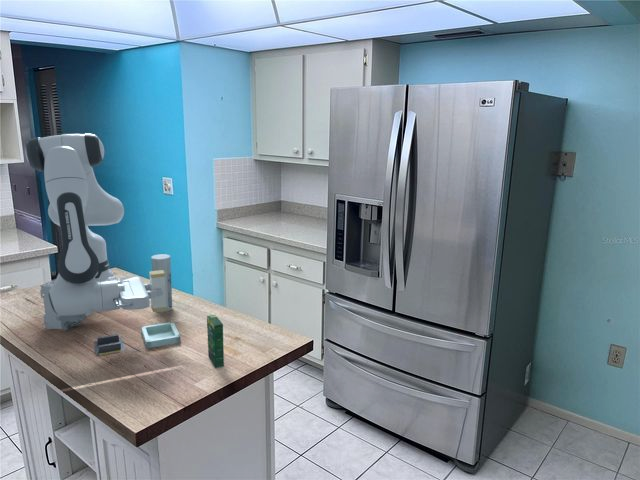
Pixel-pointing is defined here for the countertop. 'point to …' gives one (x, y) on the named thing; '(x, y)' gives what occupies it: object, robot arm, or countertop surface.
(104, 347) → the rails
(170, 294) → the spray can
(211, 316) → the coffee box
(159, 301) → the fuse
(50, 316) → the circuit breaker
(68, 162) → the robot arm
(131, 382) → the countertop surface
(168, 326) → the tray
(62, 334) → the countertop surface
